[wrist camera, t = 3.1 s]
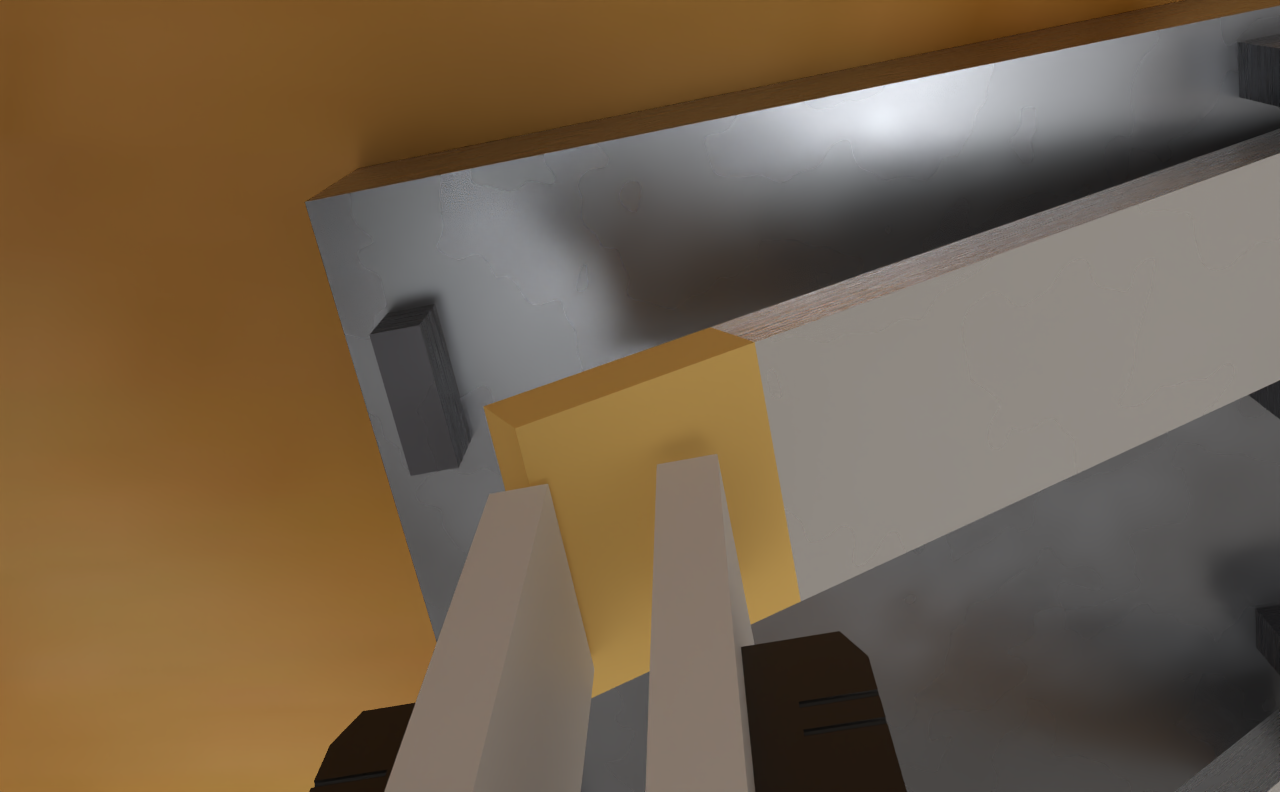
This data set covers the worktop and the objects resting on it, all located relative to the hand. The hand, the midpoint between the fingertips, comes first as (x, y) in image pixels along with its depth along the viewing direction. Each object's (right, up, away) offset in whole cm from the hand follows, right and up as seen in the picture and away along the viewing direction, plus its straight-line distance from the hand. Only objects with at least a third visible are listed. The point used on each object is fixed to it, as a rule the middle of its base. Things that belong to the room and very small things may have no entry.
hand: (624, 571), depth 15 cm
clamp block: (+7, 0, +14) cm, 16 cm away
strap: (+6, +3, +5) cm, 8 cm away
